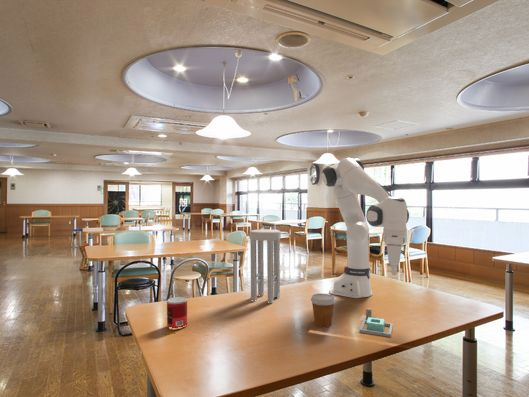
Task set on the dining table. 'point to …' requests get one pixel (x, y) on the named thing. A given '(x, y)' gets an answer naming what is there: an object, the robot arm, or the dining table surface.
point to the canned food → (177, 312)
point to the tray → (377, 331)
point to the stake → (367, 315)
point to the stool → (269, 236)
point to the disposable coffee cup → (323, 309)
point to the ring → (375, 324)
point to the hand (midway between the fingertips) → (394, 272)
